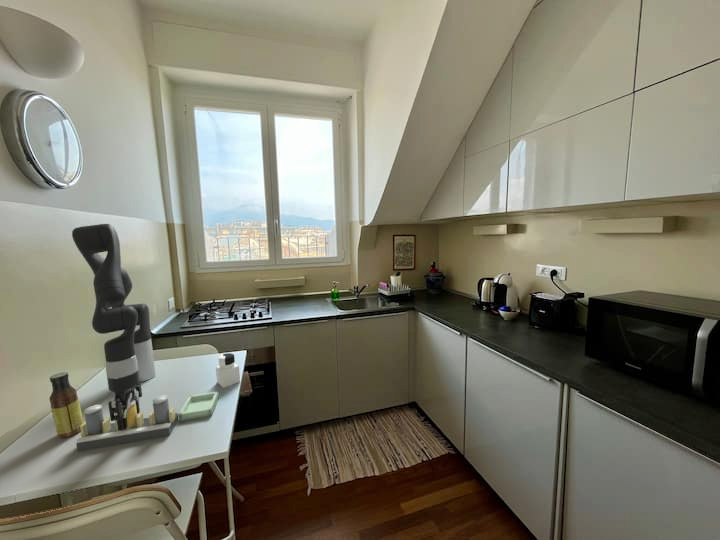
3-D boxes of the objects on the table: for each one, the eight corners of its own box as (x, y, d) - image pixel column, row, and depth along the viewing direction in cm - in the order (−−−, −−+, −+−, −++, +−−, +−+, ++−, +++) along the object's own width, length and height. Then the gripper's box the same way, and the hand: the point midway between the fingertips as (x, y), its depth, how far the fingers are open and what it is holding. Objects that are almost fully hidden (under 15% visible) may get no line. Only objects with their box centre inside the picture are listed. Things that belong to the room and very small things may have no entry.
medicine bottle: (233, 376, 130) (231, 350, 129) (240, 381, 125) (238, 354, 124) (216, 382, 125) (214, 355, 124) (223, 388, 120) (220, 360, 119)
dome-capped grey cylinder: (93, 429, 92) (89, 405, 91) (108, 427, 93) (104, 403, 92) (84, 438, 88) (80, 413, 87) (100, 435, 89) (96, 411, 88)
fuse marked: (126, 424, 94) (123, 400, 93) (140, 422, 95) (137, 398, 94) (119, 432, 91) (116, 408, 90) (134, 429, 92) (131, 405, 91)
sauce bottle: (82, 423, 100) (73, 367, 97) (86, 431, 96) (76, 372, 93) (54, 434, 95) (44, 375, 92) (57, 442, 91) (46, 381, 88)
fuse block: (93, 433, 94) (90, 416, 93) (179, 419, 100) (177, 403, 99) (76, 451, 86) (73, 432, 86) (170, 435, 92) (168, 417, 92)
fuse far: (158, 419, 97) (155, 396, 96) (172, 417, 98) (169, 394, 97) (153, 426, 93) (150, 403, 92) (167, 424, 94) (164, 400, 93)
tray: (189, 402, 111) (189, 395, 110) (218, 397, 113) (218, 391, 113) (179, 421, 99) (178, 414, 99) (211, 416, 102) (210, 409, 101)
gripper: (121, 363, 97) (127, 410, 99) (93, 384, 83) (101, 438, 85) (147, 360, 98) (152, 406, 100) (125, 380, 85) (132, 433, 87)
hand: (129, 421), depth 93 cm, fingers open, 7 cm apart
